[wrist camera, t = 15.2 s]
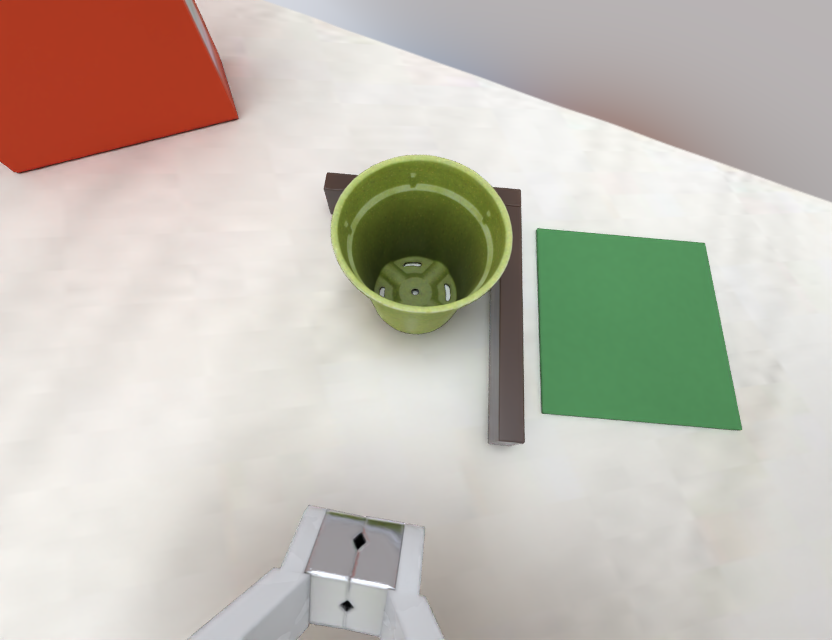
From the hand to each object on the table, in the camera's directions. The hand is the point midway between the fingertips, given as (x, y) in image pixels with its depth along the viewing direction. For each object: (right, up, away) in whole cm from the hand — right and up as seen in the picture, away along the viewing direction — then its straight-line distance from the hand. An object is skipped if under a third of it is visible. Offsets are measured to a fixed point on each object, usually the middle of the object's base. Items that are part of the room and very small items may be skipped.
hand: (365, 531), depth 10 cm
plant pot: (+1, +7, +19) cm, 20 cm away
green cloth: (+17, +5, +18) cm, 25 cm away
